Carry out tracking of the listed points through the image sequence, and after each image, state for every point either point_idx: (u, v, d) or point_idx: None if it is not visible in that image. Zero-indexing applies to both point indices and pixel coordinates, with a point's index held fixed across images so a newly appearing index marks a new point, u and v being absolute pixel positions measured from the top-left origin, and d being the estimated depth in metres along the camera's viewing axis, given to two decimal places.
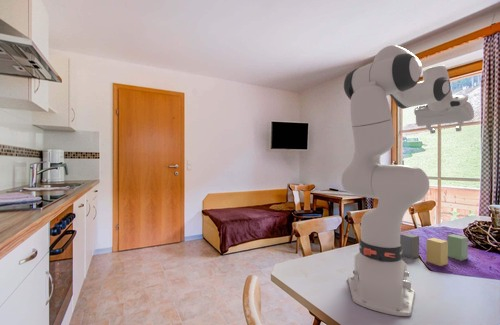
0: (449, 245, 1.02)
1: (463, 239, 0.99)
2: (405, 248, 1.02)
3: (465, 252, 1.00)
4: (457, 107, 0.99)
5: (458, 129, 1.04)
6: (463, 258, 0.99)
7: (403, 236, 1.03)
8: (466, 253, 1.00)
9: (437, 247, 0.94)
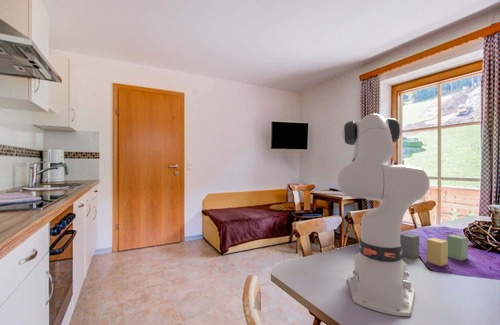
0: (449, 245, 1.02)
1: (463, 239, 0.99)
2: (405, 248, 1.02)
3: (465, 252, 1.00)
4: None
5: None
6: (463, 258, 0.99)
7: (403, 236, 1.03)
8: (466, 253, 1.00)
9: (437, 247, 0.94)
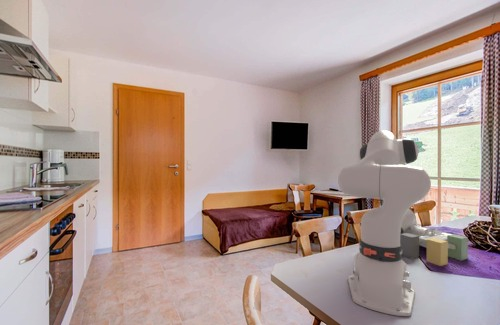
0: None
1: (463, 239, 0.99)
2: (405, 248, 1.02)
3: (465, 252, 1.00)
4: (437, 231, 1.14)
5: None
6: (463, 258, 0.99)
7: (403, 236, 1.03)
8: (466, 253, 1.00)
9: (437, 247, 0.94)
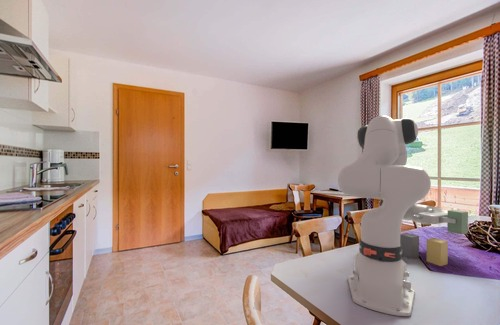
0: None
1: (463, 213, 0.99)
2: (405, 248, 1.02)
3: (466, 226, 1.00)
4: (437, 208, 1.14)
5: None
6: (463, 232, 0.99)
7: (403, 236, 1.03)
8: (466, 227, 1.00)
9: (437, 247, 0.94)
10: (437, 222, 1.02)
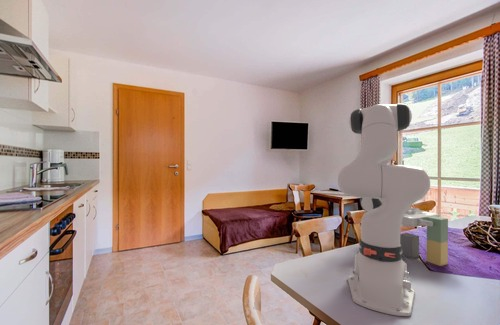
0: (429, 227, 0.97)
1: (443, 220, 0.94)
2: (405, 248, 1.02)
3: (445, 234, 0.95)
4: (418, 210, 1.09)
5: None
6: (443, 240, 0.94)
7: (403, 236, 1.03)
8: (446, 235, 0.95)
9: (437, 247, 0.94)
10: (416, 225, 0.97)
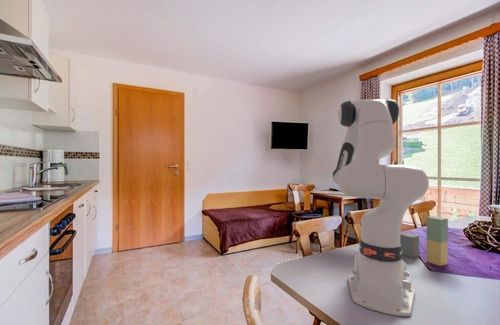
0: (428, 227, 0.97)
1: (443, 220, 0.94)
2: (405, 248, 1.02)
3: (445, 234, 0.95)
4: None
5: None
6: (443, 240, 0.94)
7: (403, 236, 1.03)
8: (446, 235, 0.95)
9: (437, 247, 0.94)
10: None
